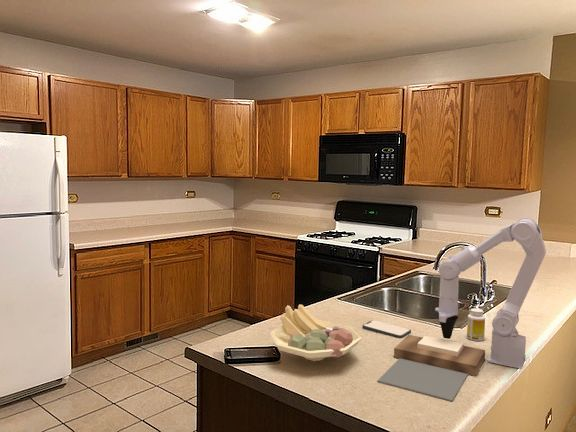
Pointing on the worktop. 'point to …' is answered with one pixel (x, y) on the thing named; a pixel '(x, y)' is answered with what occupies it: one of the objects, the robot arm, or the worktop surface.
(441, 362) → the brown wooden flat block
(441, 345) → the cream flat block
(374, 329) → the phone case
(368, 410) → the worktop surface
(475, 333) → the supplement bottle
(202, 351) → the worktop surface
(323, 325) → the dish with food
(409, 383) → the mat
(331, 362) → the worktop surface
